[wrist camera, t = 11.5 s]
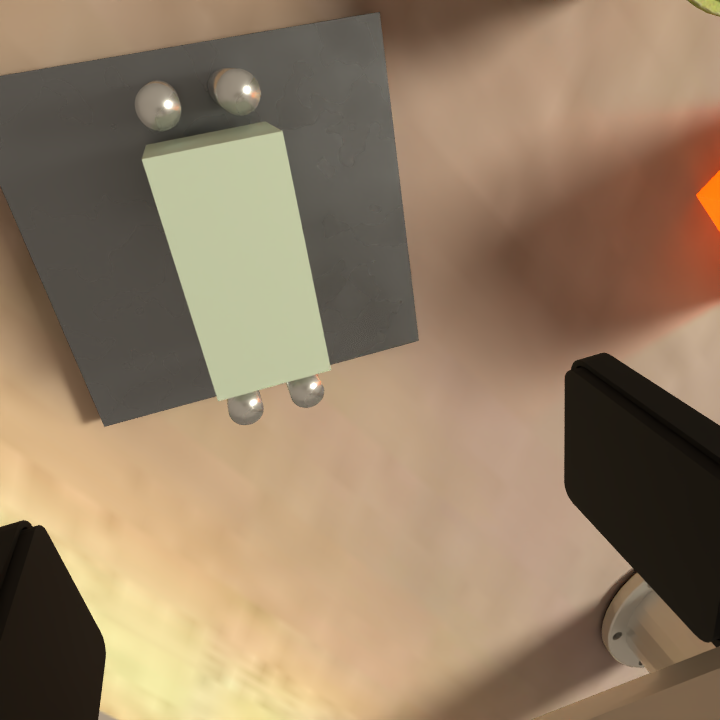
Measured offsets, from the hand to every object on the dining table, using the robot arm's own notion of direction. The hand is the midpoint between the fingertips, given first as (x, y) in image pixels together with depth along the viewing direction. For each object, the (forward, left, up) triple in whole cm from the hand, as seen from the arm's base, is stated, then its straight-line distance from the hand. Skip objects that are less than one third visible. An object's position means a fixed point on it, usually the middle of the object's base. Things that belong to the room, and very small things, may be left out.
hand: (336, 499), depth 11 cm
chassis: (0, 0, -19) cm, 19 cm away
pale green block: (0, 0, -16) cm, 16 cm away
